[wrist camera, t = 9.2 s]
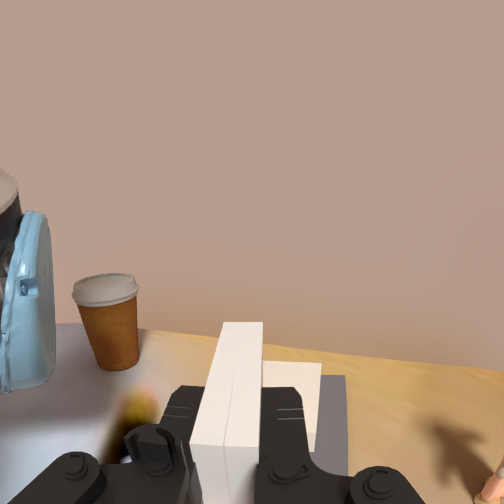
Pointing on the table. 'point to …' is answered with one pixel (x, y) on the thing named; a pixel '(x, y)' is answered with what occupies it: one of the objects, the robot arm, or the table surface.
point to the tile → (298, 388)
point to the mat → (332, 426)
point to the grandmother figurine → (492, 488)
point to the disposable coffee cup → (110, 318)
